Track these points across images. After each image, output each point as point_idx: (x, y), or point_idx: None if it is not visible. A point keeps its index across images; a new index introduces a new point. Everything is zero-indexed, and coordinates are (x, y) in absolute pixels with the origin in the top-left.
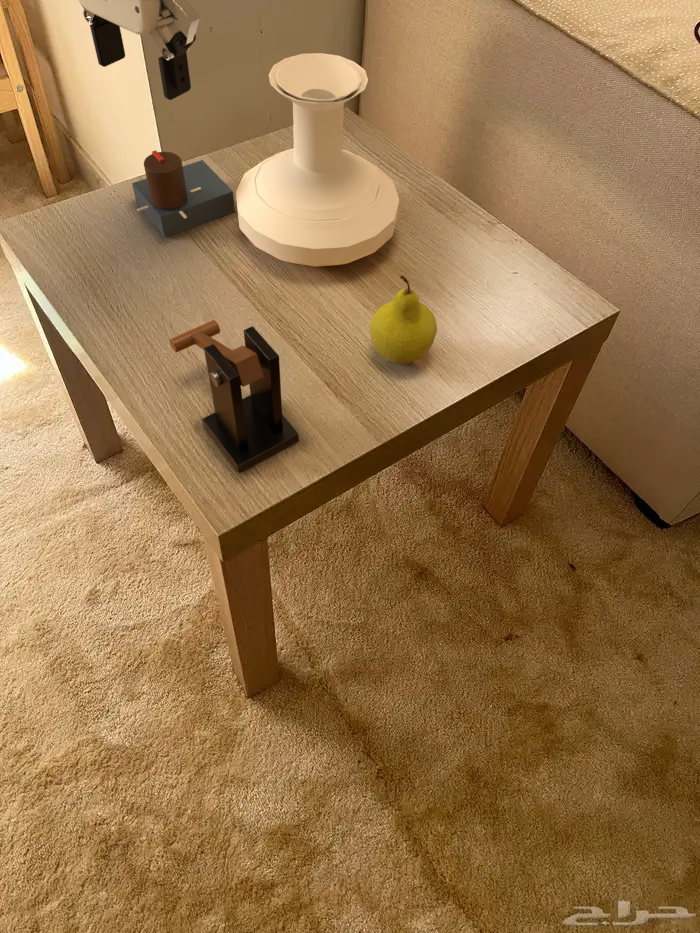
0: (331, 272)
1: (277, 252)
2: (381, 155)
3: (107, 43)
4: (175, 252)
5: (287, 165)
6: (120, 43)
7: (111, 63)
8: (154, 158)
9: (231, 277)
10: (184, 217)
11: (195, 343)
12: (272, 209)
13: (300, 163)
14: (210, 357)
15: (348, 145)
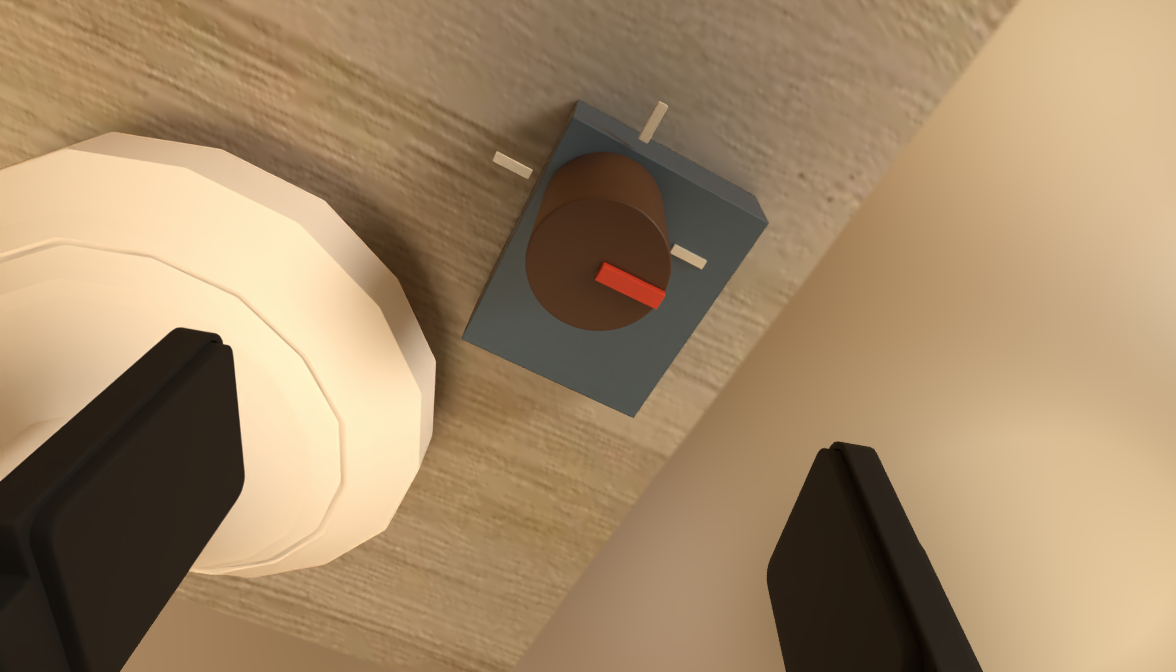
0: None
1: (110, 139)
2: (328, 622)
3: (834, 592)
4: (503, 53)
5: None
6: (788, 635)
7: (803, 488)
8: (639, 272)
9: (279, 41)
10: (496, 152)
11: None
12: (134, 248)
13: None
14: None
15: (412, 622)
